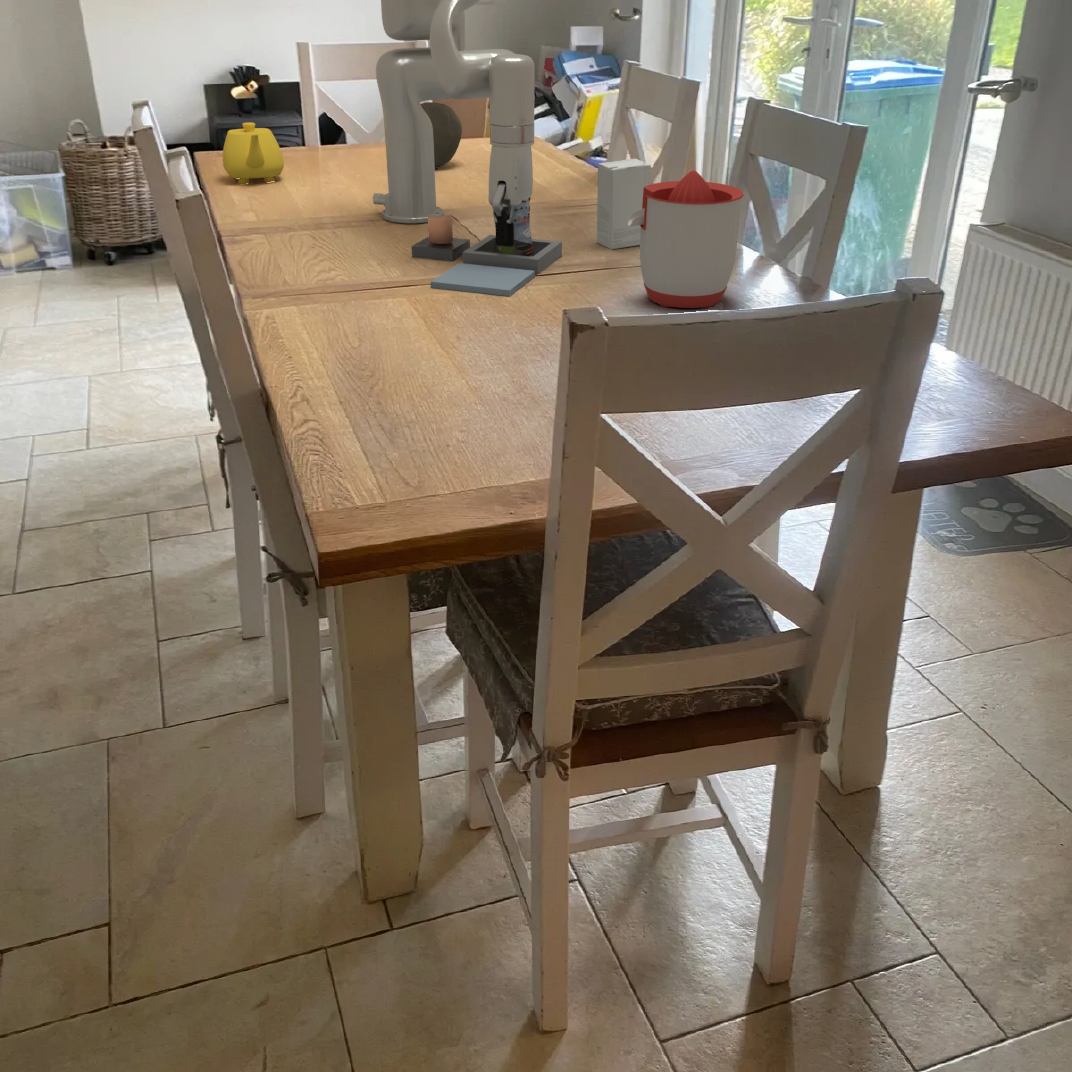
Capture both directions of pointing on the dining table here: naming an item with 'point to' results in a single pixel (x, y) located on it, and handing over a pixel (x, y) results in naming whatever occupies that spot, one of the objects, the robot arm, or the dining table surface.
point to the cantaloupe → (443, 131)
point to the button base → (440, 249)
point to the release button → (440, 229)
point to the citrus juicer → (688, 240)
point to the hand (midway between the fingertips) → (512, 239)
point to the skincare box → (620, 201)
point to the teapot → (252, 154)
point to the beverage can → (519, 232)
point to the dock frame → (484, 255)
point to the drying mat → (483, 279)
